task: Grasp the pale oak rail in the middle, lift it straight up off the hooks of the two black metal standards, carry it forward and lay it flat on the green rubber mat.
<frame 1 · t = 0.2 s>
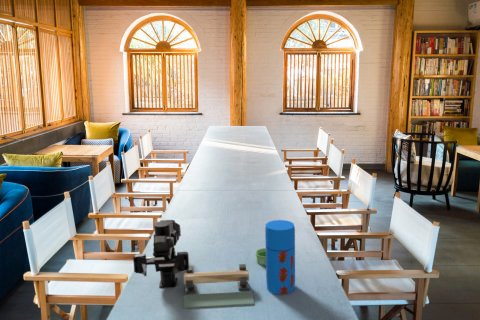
hand: (159, 274, 148), 17 cm above the table, tool horizontal, fingers open, 9 cm apart
thermos: (280, 288, 171), on the table
mat: (218, 300, 163), on the table
rail: (216, 280, 169), point 4 cm above the table, touching standards
standards: (217, 286, 173), on the table
ramekin: (266, 262, 193), on the table
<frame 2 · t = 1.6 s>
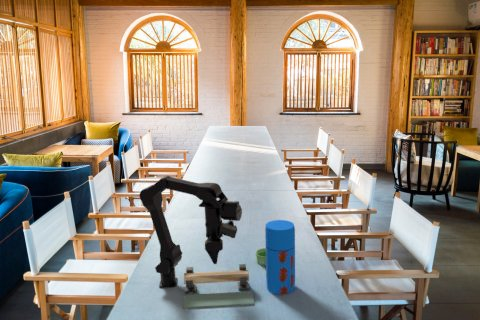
hand: (215, 258, 167), 13 cm above the table, tool pointing down, fingers open, 9 cm apart
nothing on the table moved.
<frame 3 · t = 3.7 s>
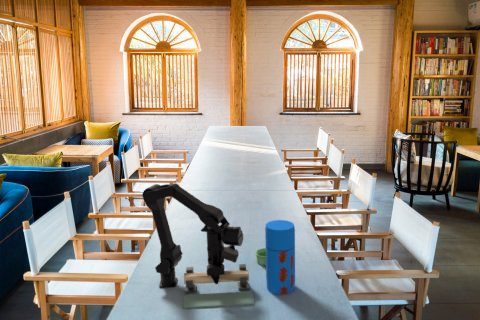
hand: (216, 281, 169), 4 cm above the table, tool pointing down, fingers closed on rail, 3 cm apart
rail: (216, 280, 169), point 4 cm above the table, touching gripper, standards
everything else where it was.
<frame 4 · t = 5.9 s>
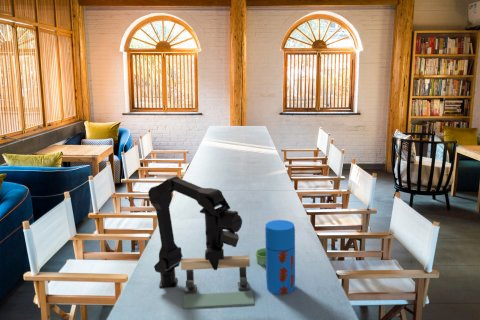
hand: (215, 267, 160), 13 cm above the table, tool pointing down, fingers closed on rail, 3 cm apart
rail: (215, 266, 160), point 13 cm above the table, touching gripper
everything else where it was.
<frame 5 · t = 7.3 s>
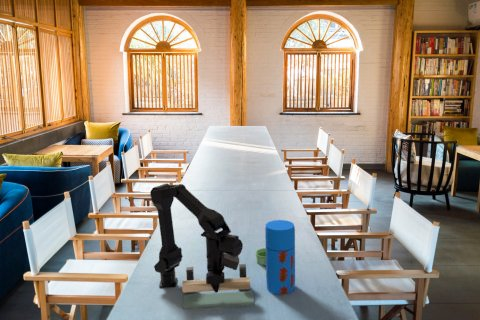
hand: (216, 289, 162), 4 cm above the table, tool pointing down, fingers closed on rail, 3 cm apart
rail: (216, 288, 162), point 5 cm above the table, touching gripper
everything else where it was.
when the fingers open (2 cm above the table, at t = 8.5 s): rail drops 2 cm, resting on mat.
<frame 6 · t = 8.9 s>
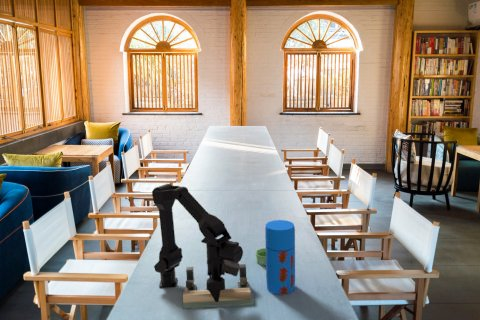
hand: (216, 296, 162), 2 cm above the table, tool pointing down, fingers open, 8 cm apart
rail: (217, 299, 163), point 1 cm above the table, touching mat
everything else where it was.
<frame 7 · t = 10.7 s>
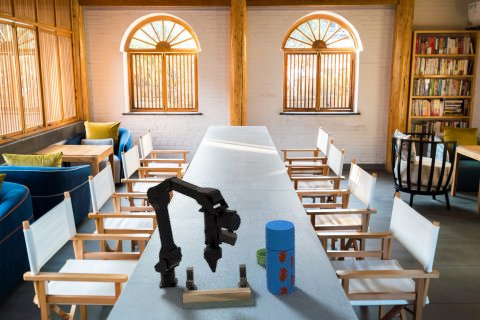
hand: (214, 266, 161), 13 cm above the table, tool pointing down, fingers open, 9 cm apart
nothing on the table moved.
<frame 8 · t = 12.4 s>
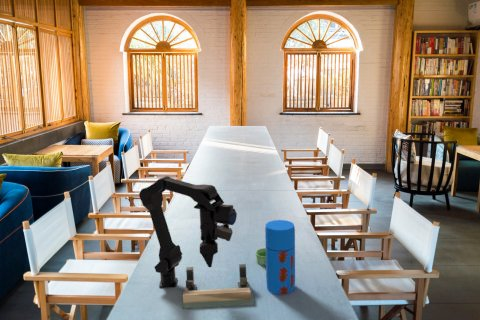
hand: (210, 261, 165), 13 cm above the table, tool pointing down, fingers open, 9 cm apart
nothing on the table moved.
at the end: rail 0.0 cm off-centre on the mat, point 0.6 cm above the mat's base; rail tilted 0°; the gripper is holding nothing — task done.
